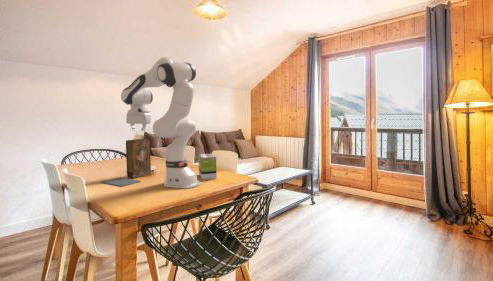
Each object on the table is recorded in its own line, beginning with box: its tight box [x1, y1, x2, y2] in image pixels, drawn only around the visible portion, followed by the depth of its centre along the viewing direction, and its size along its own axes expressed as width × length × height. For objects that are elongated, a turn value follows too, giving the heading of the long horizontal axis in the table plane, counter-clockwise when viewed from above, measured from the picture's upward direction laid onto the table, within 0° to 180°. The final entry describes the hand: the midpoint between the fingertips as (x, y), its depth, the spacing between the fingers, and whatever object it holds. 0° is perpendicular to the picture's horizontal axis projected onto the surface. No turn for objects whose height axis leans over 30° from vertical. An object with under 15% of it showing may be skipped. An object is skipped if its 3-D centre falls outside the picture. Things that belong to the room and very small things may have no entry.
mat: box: [100, 176, 141, 188], centre depth 159 cm, size 20×13×1 cm, turn 62°
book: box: [125, 138, 152, 179], centre depth 175 cm, size 16×6×25 cm, turn 154°
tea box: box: [198, 153, 217, 181], centre depth 173 cm, size 15×10×15 cm, turn 17°
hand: (138, 130), depth 174 cm, fingers open, 8 cm apart
